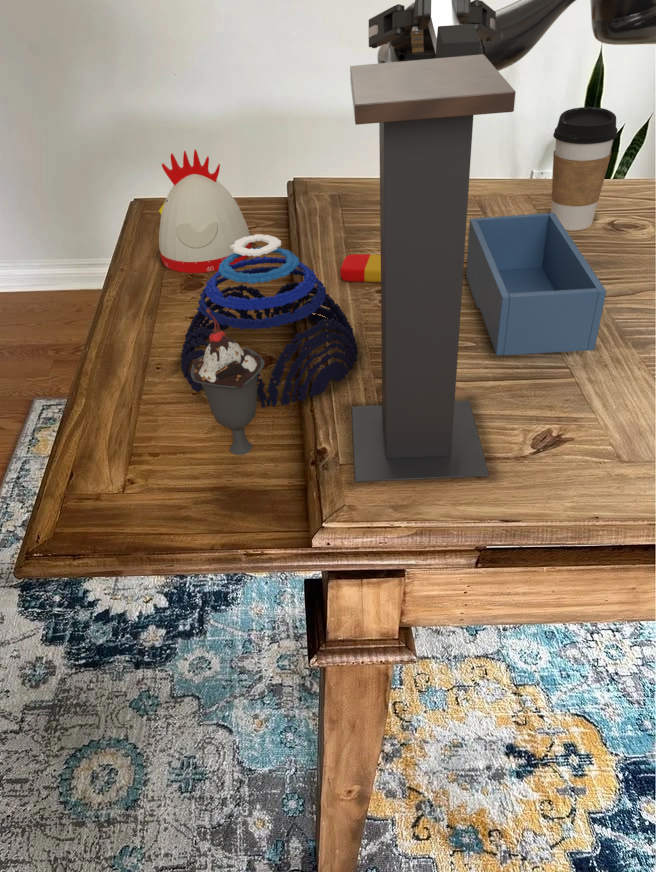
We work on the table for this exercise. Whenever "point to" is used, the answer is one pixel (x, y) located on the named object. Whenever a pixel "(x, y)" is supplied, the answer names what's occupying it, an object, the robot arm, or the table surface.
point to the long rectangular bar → (451, 32)
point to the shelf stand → (422, 262)
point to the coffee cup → (581, 164)
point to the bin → (532, 285)
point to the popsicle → (361, 268)
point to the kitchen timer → (198, 219)
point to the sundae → (229, 384)
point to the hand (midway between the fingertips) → (443, 4)
